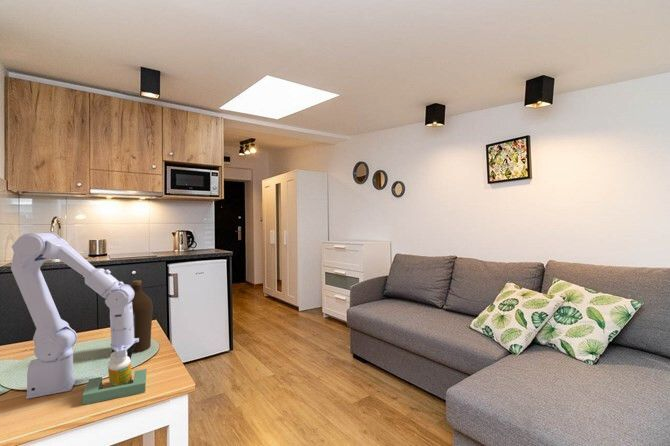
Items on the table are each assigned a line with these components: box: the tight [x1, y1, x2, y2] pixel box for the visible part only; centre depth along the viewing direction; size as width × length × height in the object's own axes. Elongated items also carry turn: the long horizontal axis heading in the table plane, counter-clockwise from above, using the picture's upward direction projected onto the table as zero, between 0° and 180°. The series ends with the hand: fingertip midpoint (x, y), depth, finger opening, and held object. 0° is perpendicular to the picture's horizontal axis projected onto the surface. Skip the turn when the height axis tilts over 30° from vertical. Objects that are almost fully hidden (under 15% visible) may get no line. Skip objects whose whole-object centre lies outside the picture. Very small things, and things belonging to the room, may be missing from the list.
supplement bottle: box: [107, 351, 133, 387], centre depth 93 cm, size 5×5×10 cm
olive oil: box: [129, 279, 154, 354], centre depth 120 cm, size 11×11×25 cm
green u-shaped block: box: [81, 368, 147, 406], centre depth 91 cm, size 14×10×2 cm
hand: (124, 372), depth 97 cm, fingers closed, pressing on supplement bottle
